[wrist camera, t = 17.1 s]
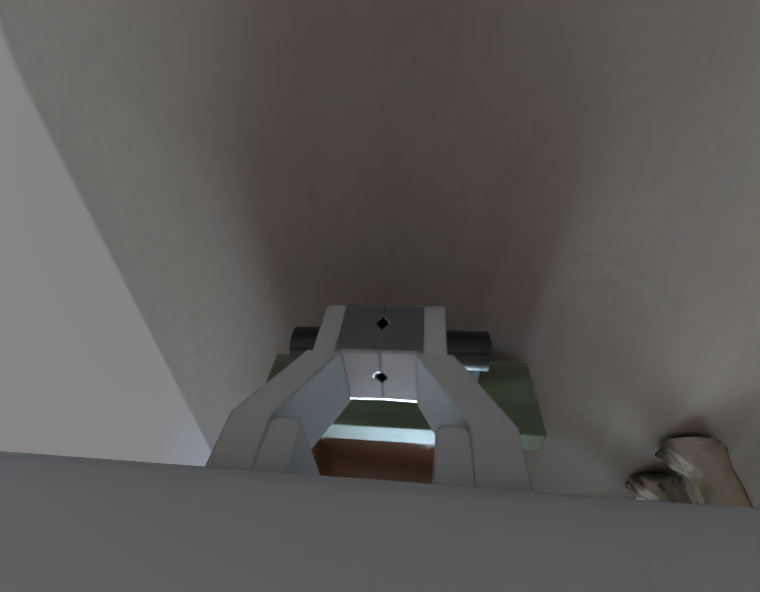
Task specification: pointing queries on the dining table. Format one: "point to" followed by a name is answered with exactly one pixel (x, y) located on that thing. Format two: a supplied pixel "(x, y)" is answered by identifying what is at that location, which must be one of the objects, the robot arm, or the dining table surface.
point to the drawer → (415, 415)
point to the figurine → (692, 474)
